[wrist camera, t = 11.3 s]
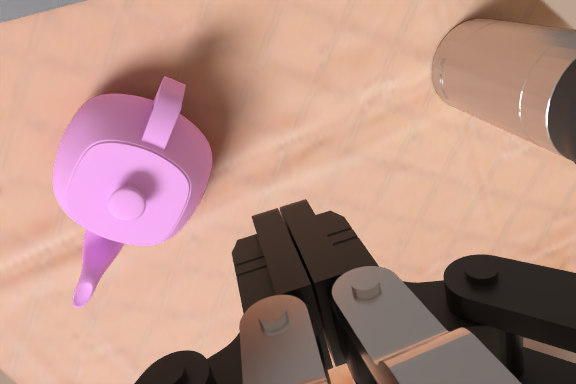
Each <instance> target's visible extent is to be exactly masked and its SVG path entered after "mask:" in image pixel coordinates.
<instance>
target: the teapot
mask: <svg viewBox="0 0 576 384" xmlns="http://www.w3.org/2000/svg"><path fill="white" fill-rule="evenodd" d="M185 87H186V85H185V84H183V83H180V82H178V81H176V80H173V79H171V78H169V77H166V76H164V77H163V80H162V82H161V84H160V87H159V89H158V92H157V94H156V96H155V99H154V100H151V99H147V98H144V97H139V96H134V95H127V94H104V95H99V96H96V97H93V98H92V99H90V100H88V101H87V102H85V103H84V104H83V105H82V106H81V107H80V108H79V110H78V111H77V112H76V114H75V115H74V117H73V118H72V120H71V122H70V123H69V125H68V127H67V128H66V130H65V132H64V134H63V137H62V139H61V141H60V144H59V147H58V151H57V155H56V159H55V163H54V170H53V177H52V182H53V190H54V194H55V196H56V199H57V201H58V203H59V204H60V206H61V208H62V209H63V210H64V211H65V212H66V214H67V215H68V216H69V217H70V218H71V219H72V220H74V221H75V222H76V223H77V224H79V225H81V226H82V227H84V228H85V229H86V232H85V235H84V241H83V262H82V271H81V276H80V279H79V282H78V284H77V287H76V289H75V292H74V295H73V305H74V307H76V308H81V307H82V306H84V305H85V304H86V303H87V302H88V301H89V299H90V298H91V296H92V294H93V293H94V290H95V288H96V286H97V284H98V282H99V280H100V278H101V277H102V275H103V274H104V272H105V271H106V269H107V268H108V267H109V265H110V264H111V263H112V262H113V260H114V259H115V258H116V256H117V255H118V253H119V252H120V250H121V249H122V247H123V245H124V244H131V245H139V246H149V245H156V244H159V243H162V242H164V241H166V240H168V239H170V238H172V237H173V236H174V235H176V234H177V233H178V232H179V231H180V230H181V229H182V228H183V227H184V225H185V224H186V223H187V221H188V220H189V219H190V217H191V216H192V214H193V213H194V211H195V210H196V208H197V206H198V205H199V203H200V201H201V199H202V196H203V194H204V192H205V189H206V186H207V183H208V180H209V177H210V173H211V169H212V152H211V148H210V145H209V142H208V141H207V139H206V138H205V136H204V135H203V134H202V132H201V131H200V130H199V129H198V128H197V127H196V126H195V125H194V124H193V123H192V122H191V121H189V120H188V119H187V118H185V117H184V116H183V115H181V114H180V111H181V108H182V103H183V97H184V92H185Z"/></svg>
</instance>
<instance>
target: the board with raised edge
mask: <svg viewBox="0 0 576 384" xmlns="http://www.w3.org/2000/svg"><path fill="white" fill-rule="evenodd" d="M81 1H85V0H0V23H1V22H5V21H9V20H12V19H16V18H20V17H24V16H28V15H32V14H35V13H39V12H43V11H47V10H51V9H55V8H58V7H62V6H66V5H70V4H74V3H78V2H81Z"/></svg>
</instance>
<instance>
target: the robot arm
mask: <svg viewBox="0 0 576 384" xmlns="http://www.w3.org/2000/svg"><path fill="white" fill-rule="evenodd" d="M432 79H433V84H434V87H435V90H436V92H437V94H438V95H439V96H440V98H441V99H442V100H443V101H445V102H446V103H447V104H449V105H451V106H453V107H455V108H457V109H460V110H462V111H464V112H466V113H468V114H470V115H472V116H474V117H476V118H479V119H481V120H483V121H485V122H487V123H490V124H492V125H494V126H496V127H498V128H501V129H503V130H505V131H507V132H509V133H512V134H514V135H516V136H518V137H520V138H523V139H525V140H527V141H529V142H531V143H534V144H536V145H538V146H540V147H543V148H545V149H547V150H549V151H552V152H554V153H556V154H558V155H560V156H563V157H565V158H567V159H569V160H572V161H574V163H575V164H576V30H573V29H565V28H557V27H549V26H540V25H532V24H524V23H516V22H509V21H501V20H493V19H484V18H482V19H472V20H468V21H465V22H464V23H462V24H460V25H458V26H456V27H455V28H454V29H453V30H451V31H450V32H449V33H448V34H447V36H446V37H445V38H444V39H443V40H442V42H441V44H440V45H439V47H438V49H437V51H436V54H435V57H434V60H433V65H432ZM280 212H281V214H280ZM280 212H279V210H278V208H276V209H273V210H270V211H267V212H263V213H260V214H257V215H254V216H252V219H253V222H254V226H255V229H256V232H257V234H255V235H252V236H249V237H246V238H242V239H239V240H237V242H236V245H235V247H234V249H233V251H232V256H233V262H234V266H235V272H236V276H237V282H238V287H239V292H240V297H241V303H242V308H243V313H244V314H243V316H242V318H241V321H240V326H239V329H240V333H239V334H238V335H237V337H236V338H235V339H234V340H233V341H232V342H231V343H230V344H229V345H228V346H227V347H225V348H224V349H222V350H221V351H219V352H218V353H216V354H214V355H213V356H211V357H209V358H208V359H206V358H205V357H204V356H203V355H202V354H200V353H198V352H195V351H189V350H187V351H178V352H174V353H171V354H169V355H166V356H164V357H162V358H160V359H159V360H157V361H156V362H154V363H153V364H152V365H151V366H150V367H148V368H147V370H146V371H145V372H144V373H143V374H142V375H141V376H140V377H139V379H138V380H137V381H136V382H135V383H134V384H331V381H330V377H329V374H328V369H331V368H333V365H332V362H331V358H330V354H329V351H330V353H331V356H332V358H333V361H334V363H335V366H339V365H342V364H345V363H347V365H348V368H349V370H350V372H351V375H352V379H353V383H354V384H576V364H575V363H572V362H569V361H566V360H563V359H559V358H557V357H553V356H550V355H547V354H544V353H541V352H538V351H534V350H531V349H528V348H525V347H523V337H525V338H529V339H532V340H535V341H538V342H542V343H545V344H548V345H552V346H555V347H558V348H561V349H565V350H568V351H571V352H574V353H576V273H573V272H568V271H564V270H559V269H554V268H549V267H545V266H540V265H535V264H530V263H526V262H521V261H516V260H512V259H507V258H502V257H497V256H492V255H470V256H466V257H462V258H459V259H457V260H455V261H453V262H452V263H451V264H450V265H449V266H448V267H447V268H446V270H445V272H444V280H443V281H433V282H421V283H411V282H403V281H402V280H401V279H400V278H399V277H398V276H397V275H396V274H395V273H394V272H392V271H391V270H389V269H386V268H383V267H379V266H378V264H377V263H376V262H375V260H374V259H373V257H372V256H371V254H370V253H369V252H368V250H367V249H366V247H365V246H364V245H363V243H362V242H361V240H360V239H359V238H358V237H357V235H356V233H355V232H354V230H353V229H352V228H351V226H350V225H349V223H348V222H347V220H346V219H345V218H344V217H343V216H341V215H339V214H337V213H334V212H332V211H328V212H325V213H321V214H318V215H315V214H314V212H313V210H312V208H311V207H310V205H309V203H308V202H307V200H306V199H305V200H302V201H298V202H295V203H292V204H289V205H286V206H282V207H280ZM281 216H282V217H281ZM328 348H329V350H328Z"/></svg>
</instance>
